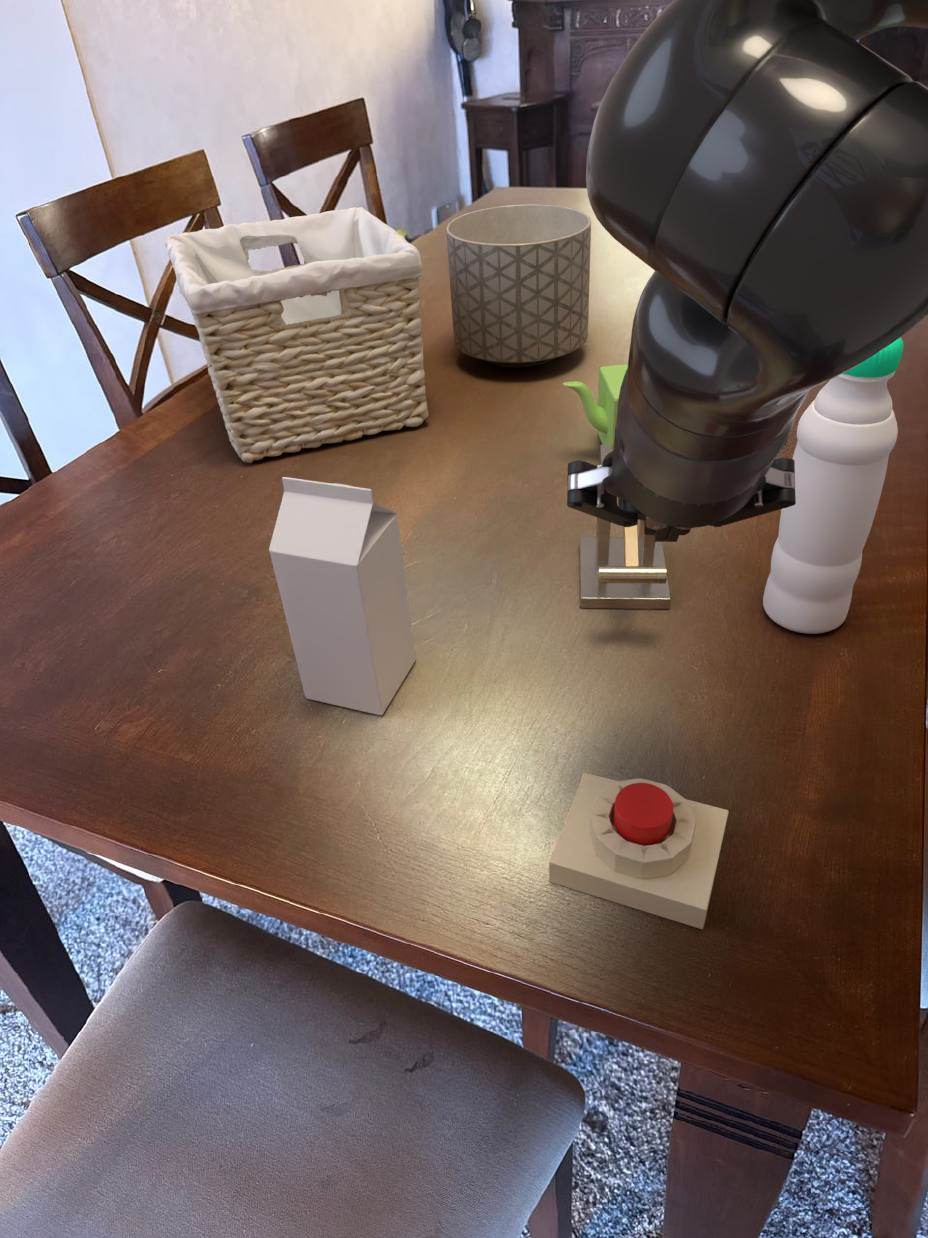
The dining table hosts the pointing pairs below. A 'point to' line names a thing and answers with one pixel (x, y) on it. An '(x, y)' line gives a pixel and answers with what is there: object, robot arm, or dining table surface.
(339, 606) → the milk carton
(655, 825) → the button
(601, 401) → the teapot
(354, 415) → the basket
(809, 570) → the water bottle
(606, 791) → the box
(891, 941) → the dining table surface
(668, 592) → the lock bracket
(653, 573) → the lever
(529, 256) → the planter
